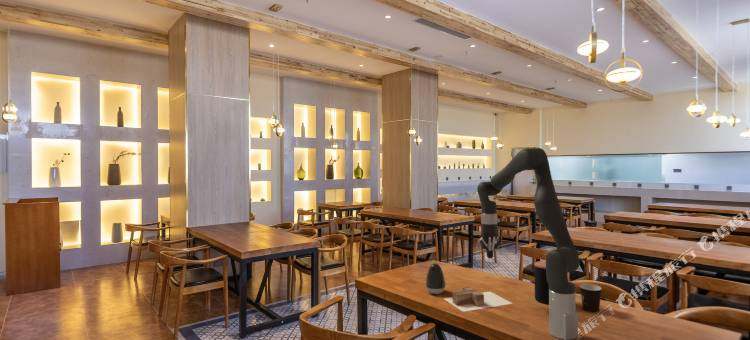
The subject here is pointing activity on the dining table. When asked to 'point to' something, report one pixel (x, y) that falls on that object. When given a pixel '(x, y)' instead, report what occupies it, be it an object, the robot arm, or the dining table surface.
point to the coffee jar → (541, 283)
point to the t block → (468, 297)
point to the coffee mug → (590, 297)
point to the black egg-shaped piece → (435, 279)
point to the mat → (489, 301)
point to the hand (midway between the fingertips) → (490, 257)
